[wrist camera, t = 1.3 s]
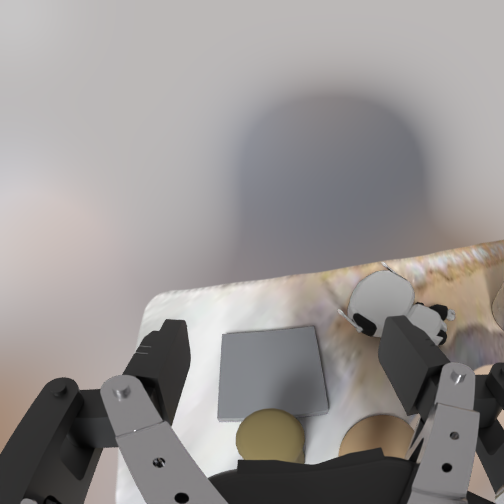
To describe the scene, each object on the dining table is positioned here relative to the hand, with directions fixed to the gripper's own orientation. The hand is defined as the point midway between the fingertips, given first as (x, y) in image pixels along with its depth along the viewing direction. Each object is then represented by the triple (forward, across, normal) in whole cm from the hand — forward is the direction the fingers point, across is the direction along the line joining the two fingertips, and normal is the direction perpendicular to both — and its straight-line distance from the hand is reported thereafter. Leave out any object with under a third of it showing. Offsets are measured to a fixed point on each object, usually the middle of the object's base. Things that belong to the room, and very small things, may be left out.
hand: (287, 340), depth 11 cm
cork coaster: (+7, -12, +21) cm, 25 cm away
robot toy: (+22, -18, +14) cm, 32 cm away
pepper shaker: (+8, -1, +21) cm, 22 cm away
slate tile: (+18, 0, +17) cm, 25 cm away
